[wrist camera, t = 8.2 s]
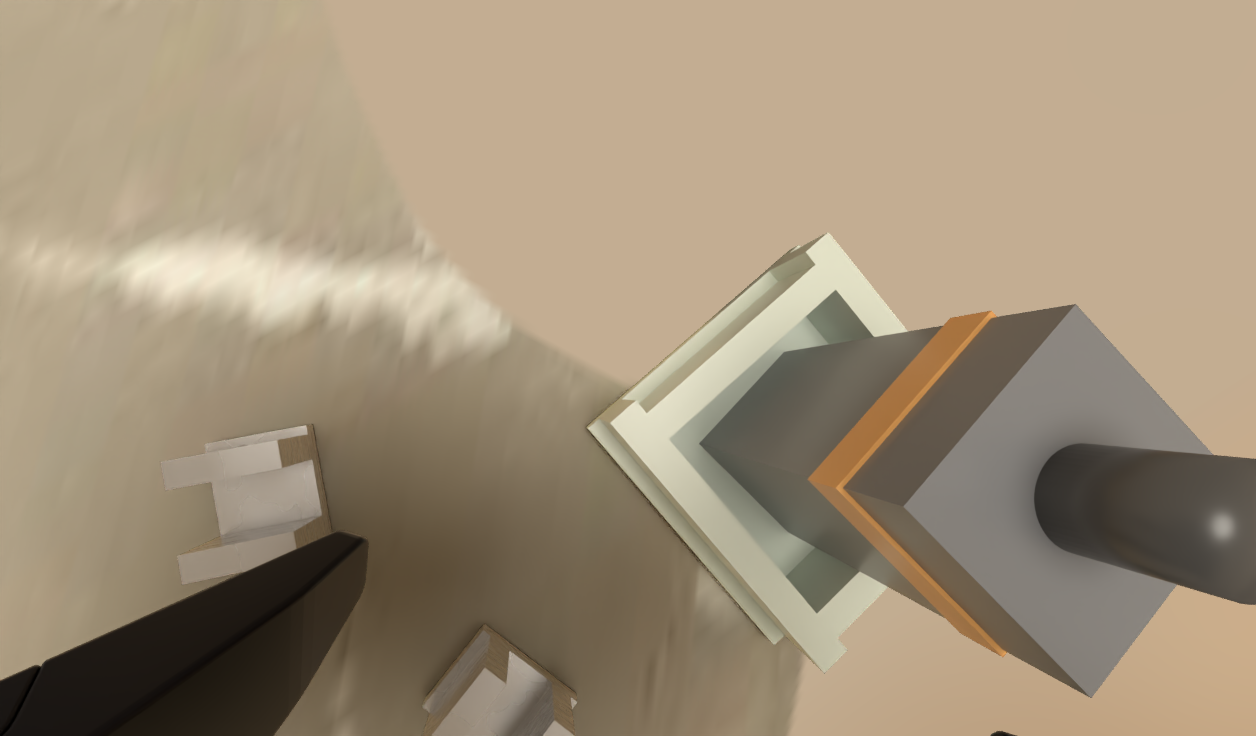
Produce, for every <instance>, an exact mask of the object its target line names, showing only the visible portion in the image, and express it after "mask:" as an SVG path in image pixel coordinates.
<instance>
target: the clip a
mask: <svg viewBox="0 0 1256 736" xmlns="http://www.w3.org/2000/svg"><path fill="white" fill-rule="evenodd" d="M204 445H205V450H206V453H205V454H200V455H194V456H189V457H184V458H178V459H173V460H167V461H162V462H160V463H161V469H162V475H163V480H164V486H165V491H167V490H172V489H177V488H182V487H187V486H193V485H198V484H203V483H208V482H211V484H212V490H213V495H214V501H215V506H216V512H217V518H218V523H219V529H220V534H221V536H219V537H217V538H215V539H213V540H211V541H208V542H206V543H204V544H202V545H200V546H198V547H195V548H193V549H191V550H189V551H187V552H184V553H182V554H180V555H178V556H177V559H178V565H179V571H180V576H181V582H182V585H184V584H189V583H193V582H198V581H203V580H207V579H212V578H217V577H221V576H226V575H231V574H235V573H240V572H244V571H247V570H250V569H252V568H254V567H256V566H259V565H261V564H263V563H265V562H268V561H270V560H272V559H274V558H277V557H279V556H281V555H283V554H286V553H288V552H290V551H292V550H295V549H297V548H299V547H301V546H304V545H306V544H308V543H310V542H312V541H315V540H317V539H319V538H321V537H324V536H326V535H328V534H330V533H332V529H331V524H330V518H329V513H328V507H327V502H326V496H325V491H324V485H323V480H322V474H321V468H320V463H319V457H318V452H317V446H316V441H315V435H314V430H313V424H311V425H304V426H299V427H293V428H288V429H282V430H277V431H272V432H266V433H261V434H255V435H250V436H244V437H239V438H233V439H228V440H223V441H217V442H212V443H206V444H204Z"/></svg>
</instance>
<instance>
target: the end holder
mask: <svg viewBox="0 0 1256 736" xmlns="http://www.w3.org/2000/svg"><path fill="white" fill-rule="evenodd" d="M902 332H908V331H907V330H906V328H905V327H904V326H903V325H902V323H901V322H900V321H899V320H898V318H897V317H896V316H895V315H894V313H893V312H892V311H891V310H890V308H889V307H888V306H887V305H886V303H885V302H884V301H883V300H882V298H881V297H880V296H879V295H878V293H877V292H876V291H875V290H874V288H873V287H872V286H871V285H870V283H869V282H868V281H867V280H866V278H865V277H864V276H863V275H862V273H861V272H860V271H859V270H858V268H857V267H856V266H855V265H854V263H853V262H852V261H851V260H850V258H849V257H848V256H847V255H846V254H845V252H844V251H843V250H842V248H841V247H840V246H839V245H838V243H837V242H836V241H835V240H834V238H833V237H832V236H831V235H830V233H829V232H828V233H826V234H824V235H822V236H820V237H819V238H817V239H815V240H813V241H811V242H809V243H807V244H806V245H804V246H802V247H800V245H798V246H796V247H794V248H792V249H791V250H789V251H788V252H787V253H786V254H785V255H783V256H782V257H781V258H780V259H779V260H778V261H776V262H775V263H774V264H773V265H772V266H771V267H770V268H768V269H767V270H766V271H765V272H764V273H763V274H762V275H760V276H759V277H758V278H757V279H756V280H755V281H753V282H752V283H751V284H750V285H749V286H748V287H747V288H745V289H744V290H743V291H742V292H741V293H740V294H739V295H738V296H736V297H735V298H734V299H733V300H732V301H730V302H729V303H728V304H727V305H726V306H725V307H724V308H722V309H721V310H720V311H719V312H718V313H717V314H716V315H714V316H713V317H712V318H711V319H710V320H709V321H707V322H706V323H705V324H704V325H703V326H702V327H701V328H700V329H698V330H697V331H696V332H695V333H694V334H693V335H691V336H690V337H689V338H688V339H687V340H686V341H684V342H683V343H682V344H681V345H680V346H679V347H678V348H676V349H675V350H674V351H673V352H672V353H671V354H670V355H668V356H667V357H666V358H665V359H664V360H663V361H662V362H660V363H659V364H658V365H657V366H656V367H655V368H653V369H652V370H651V371H650V372H649V373H648V374H647V375H645V376H644V377H643V378H642V379H641V380H640V381H639V382H637V383H636V384H635V385H634V386H633V387H632V388H630V389H629V390H628V391H627V392H626V393H625V394H624V395H622V396H621V397H620V398H619V399H618V400H617V401H615V402H614V403H613V404H612V405H611V406H610V407H609V408H607V409H606V410H605V411H604V412H603V413H602V414H601V415H599V416H598V417H597V418H596V419H595V420H594V421H592V422H591V423H590V424H589V425H588V426H587V427H586V428H587V429H588V430H589V431H590V432H591V434H592V435H593V436H594V437H595V438H596V439H597V440H598V442H599V443H600V444H601V445H602V446H603V447H604V449H605V450H606V451H607V452H608V453H609V454H610V456H611V457H612V458H613V459H614V460H615V461H616V463H617V464H618V465H619V466H620V467H621V468H622V470H623V471H624V472H625V473H626V474H627V475H628V477H629V478H630V479H631V480H632V481H633V482H634V484H635V485H636V486H637V487H638V488H639V489H640V491H641V492H642V493H643V494H644V495H645V496H646V498H647V499H648V500H649V501H650V502H651V503H652V505H653V506H654V507H655V508H656V509H657V510H658V511H659V513H660V514H661V515H662V516H663V517H664V518H665V520H666V521H667V522H668V523H669V524H670V525H671V527H672V528H673V529H674V530H675V531H676V532H677V534H678V535H679V536H680V537H681V538H682V539H683V541H684V542H685V543H686V544H687V545H688V546H689V548H690V549H691V550H692V551H693V552H694V553H695V555H696V556H697V557H698V558H699V559H700V560H701V562H702V563H703V564H704V565H705V566H706V567H707V569H708V570H709V571H710V572H711V573H712V574H713V575H714V577H715V578H716V579H717V580H718V581H719V582H720V584H721V585H722V586H723V587H724V588H725V589H726V591H727V592H728V593H729V594H730V595H731V596H732V598H733V599H734V600H735V601H736V602H737V603H738V605H739V606H740V607H741V608H742V609H743V610H744V612H745V613H746V614H747V615H748V616H749V617H750V619H751V620H752V621H753V622H754V623H755V624H756V626H757V627H758V628H759V629H760V630H761V631H762V633H763V634H764V635H765V636H766V637H767V638H768V639H769V640H770V641H771V642H772V643H773V644H774V645H775V644H776V643H777V642H778V641H779V640H780V639H781V638H782V637H783V636H784V635H785V636H786V637H787V638H788V639H789V640H790V641H791V642H792V643H793V644H794V645H795V646H796V647H797V648H798V649H799V650H801V651H802V652H803V653H804V654H805V655H806V656H807V657H808V658H809V659H810V660H811V661H812V662H813V663H814V664H815V665H816V666H817V667H818V668H819V669H820V670H821V671H822V672H823V673H826V672H827V670H829V669H830V668H831V667H832V666H833V665H834V664H835V662H836V661H838V659H839V658H840V657H841V656H842V655H843V654H844V653H845V652H846V651H847V649H846V647H845V646H844V645H843V644H842V643H841V642H840V640H839V639H838V637H839V636H840V635H841V634H842V633H843V632H844V631H845V630H846V629H847V628H848V627H849V626H850V625H851V624H852V623H853V622H854V621H855V620H856V619H857V618H858V617H859V616H860V615H861V614H862V613H863V612H864V611H865V610H866V609H867V608H868V607H869V606H870V605H871V604H872V603H873V602H874V601H875V600H876V599H877V598H878V597H879V596H880V595H881V593H883V591H885V590H886V588H887V586H885V585H884V584H882V583H880V582H878V581H876V580H874V579H873V578H871V577H869V576H867V575H865V574H863V573H862V572H860V571H858V570H856V569H854V568H852V567H851V566H849V565H847V564H845V563H843V562H842V561H840V560H838V559H836V558H834V557H832V556H831V555H829V554H827V553H825V552H823V551H821V550H820V549H818V548H816V547H814V546H812V545H810V544H809V543H807V542H805V541H803V540H801V539H799V538H798V537H796V536H794V535H792V534H790V533H788V532H787V531H786V530H785V529H784V528H783V527H782V526H781V525H780V524H779V523H778V522H777V521H776V520H775V519H774V518H773V517H772V516H771V515H770V514H769V513H768V512H767V511H766V510H765V509H764V508H763V507H762V506H761V505H760V504H759V503H758V502H757V501H756V500H755V499H754V498H753V497H752V496H751V495H750V494H749V493H748V492H747V491H746V490H745V489H744V488H743V487H742V486H741V485H740V484H739V483H738V482H737V481H736V480H735V479H734V478H733V477H732V476H731V475H730V474H729V473H728V472H727V471H726V470H725V469H724V468H723V467H722V466H721V465H720V464H719V463H718V462H717V461H716V460H715V459H714V458H713V457H712V456H711V455H710V454H709V453H708V452H707V451H706V450H705V449H704V448H703V447H702V446H701V445H700V444H699V443H700V442H701V441H702V440H703V439H704V438H705V436H706V435H707V434H708V433H709V432H710V431H711V430H712V429H713V428H714V427H715V426H716V425H717V424H718V422H719V421H720V420H721V419H722V418H723V417H724V416H725V415H726V414H727V413H728V412H729V411H730V410H731V408H732V407H733V406H734V405H735V404H736V403H737V402H738V401H739V400H740V399H741V398H742V397H743V396H744V394H745V393H746V392H747V391H748V390H749V389H750V388H751V387H752V386H753V385H754V384H755V383H756V382H757V380H758V379H759V378H760V377H761V376H762V375H763V374H764V373H765V372H766V371H767V370H768V369H769V368H770V366H771V365H772V364H773V363H774V362H775V361H776V360H777V359H778V358H779V357H780V356H781V355H782V354H783V352H786V351H792V350H798V349H804V348H810V347H816V346H822V345H829V344H835V343H841V342H847V341H853V340H859V339H865V338H871V337H878V336H884V335H890V334H896V333H902Z"/></svg>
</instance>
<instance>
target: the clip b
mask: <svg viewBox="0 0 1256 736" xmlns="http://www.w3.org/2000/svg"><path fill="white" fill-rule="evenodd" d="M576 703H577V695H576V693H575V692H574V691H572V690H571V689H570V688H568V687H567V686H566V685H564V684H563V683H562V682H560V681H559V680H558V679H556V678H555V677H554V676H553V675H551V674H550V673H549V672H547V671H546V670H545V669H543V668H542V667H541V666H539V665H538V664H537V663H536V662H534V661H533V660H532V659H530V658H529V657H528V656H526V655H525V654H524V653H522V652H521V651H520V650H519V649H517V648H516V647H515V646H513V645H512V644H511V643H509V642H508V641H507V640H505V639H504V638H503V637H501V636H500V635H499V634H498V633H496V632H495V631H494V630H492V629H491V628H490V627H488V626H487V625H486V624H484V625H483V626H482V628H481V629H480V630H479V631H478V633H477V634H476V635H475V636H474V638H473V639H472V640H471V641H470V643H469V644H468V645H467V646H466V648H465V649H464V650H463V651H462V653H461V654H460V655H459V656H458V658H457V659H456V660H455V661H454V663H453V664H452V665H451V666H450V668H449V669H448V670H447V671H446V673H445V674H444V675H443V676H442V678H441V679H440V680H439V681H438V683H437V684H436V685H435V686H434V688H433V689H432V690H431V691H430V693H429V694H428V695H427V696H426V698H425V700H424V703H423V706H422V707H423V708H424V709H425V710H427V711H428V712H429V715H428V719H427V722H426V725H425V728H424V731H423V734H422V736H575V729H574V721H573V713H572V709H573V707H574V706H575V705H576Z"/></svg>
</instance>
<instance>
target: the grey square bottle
mask: <svg viewBox="0 0 1256 736" xmlns="http://www.w3.org/2000/svg"><path fill="white" fill-rule="evenodd" d="M699 444H700V445H701V446H702V447H703V448H704V449H705V450H706V451H707V452H708V453H709V454H710V455H711V456H712V457H713V458H714V459H715V460H716V461H717V462H718V463H719V464H720V465H721V466H722V467H723V468H724V469H725V470H726V471H727V472H728V473H729V474H730V475H731V476H732V477H733V478H734V479H735V480H736V481H737V482H738V483H739V484H740V485H741V486H742V487H743V488H744V489H745V490H746V491H747V492H748V493H749V494H750V495H751V496H752V497H753V498H754V499H755V500H756V501H757V502H758V503H759V504H760V505H761V506H762V507H763V508H764V509H765V510H766V511H767V512H768V513H769V514H770V515H771V516H772V517H773V518H774V519H775V520H776V521H777V522H778V523H779V524H780V525H781V526H782V527H783V528H784V529H785V530H786V531H787V532H788V533H790V534H792V535H794V536H796V537H798V538H799V539H801V540H803V541H805V542H807V543H809V544H810V545H812V546H814V547H816V548H818V549H820V550H821V551H823V552H825V553H827V554H829V555H831V556H832V557H834V558H836V559H838V560H840V561H842V562H843V563H845V564H847V565H849V566H851V567H852V568H854V569H856V570H858V571H860V572H862V573H863V574H865V575H867V576H869V577H871V578H873V579H874V580H876V581H878V582H880V583H882V584H884V585H885V586H887V587H889V588H891V589H893V590H895V591H896V592H898V593H900V594H902V595H904V596H906V597H908V598H909V599H911V600H913V601H915V602H917V603H918V604H920V605H922V606H924V607H926V608H927V609H929V610H931V611H933V612H935V613H937V614H939V615H940V616H942V617H944V618H946V619H947V620H948V621H949V622H950V623H951V624H952V625H953V626H954V627H955V628H956V629H957V630H958V631H959V632H960V633H961V634H963V635H964V636H966V637H968V638H970V639H972V640H973V641H975V642H977V643H979V644H980V645H982V646H984V647H986V648H988V649H989V650H991V651H993V652H995V653H997V654H998V655H1000V656H1002V657H1004V656H1005V654H1006V653H1007V652H1008V653H1010V654H1012V655H1013V656H1015V657H1017V658H1019V659H1021V660H1023V661H1024V662H1026V663H1028V664H1030V665H1032V666H1034V667H1035V668H1037V669H1039V670H1041V671H1043V672H1045V673H1047V674H1048V675H1050V676H1052V677H1054V678H1055V679H1057V680H1059V681H1061V682H1063V683H1065V684H1067V685H1069V686H1070V687H1072V688H1074V689H1076V690H1077V691H1079V692H1081V693H1083V694H1085V695H1087V696H1088V697H1090V698H1092V696H1093V695H1094V694H1095V692H1096V691H1097V690H1098V688H1099V687H1100V686H1101V685H1102V683H1103V682H1104V681H1105V679H1106V678H1107V677H1108V675H1109V674H1110V673H1111V671H1112V670H1113V669H1114V667H1115V666H1116V665H1117V663H1118V662H1119V661H1120V659H1121V658H1122V657H1123V655H1124V654H1125V653H1126V651H1127V650H1128V649H1129V647H1130V646H1131V645H1132V643H1133V642H1134V641H1135V639H1136V638H1137V637H1138V635H1139V634H1140V633H1141V632H1142V630H1143V629H1144V628H1145V626H1146V625H1147V624H1148V622H1149V621H1150V620H1151V618H1152V617H1153V616H1154V614H1155V613H1156V612H1157V610H1158V609H1159V608H1160V606H1161V605H1162V604H1163V602H1164V601H1165V600H1166V598H1167V597H1168V596H1169V594H1170V593H1171V592H1172V590H1173V589H1174V588H1175V587H1176V585H1180V586H1184V587H1187V588H1190V589H1194V590H1197V591H1201V592H1204V593H1207V594H1211V595H1214V596H1217V597H1221V598H1224V599H1227V600H1231V601H1234V602H1237V603H1241V604H1249V605H1255V604H1256V459H1250V458H1240V457H1239V458H1238V457H1228V456H1217V455H1213V454H1212V453H1211V452H1210V451H1209V450H1208V448H1207V447H1206V446H1205V445H1204V444H1203V443H1202V442H1201V441H1200V440H1199V439H1198V438H1197V436H1196V435H1195V434H1194V433H1193V432H1192V431H1191V430H1190V429H1189V428H1188V427H1187V425H1186V424H1185V423H1184V422H1183V421H1182V420H1181V419H1180V418H1179V417H1178V416H1177V415H1176V413H1175V412H1174V411H1173V410H1172V409H1171V408H1170V407H1169V406H1168V405H1167V404H1166V402H1165V401H1164V400H1163V399H1162V398H1161V397H1160V396H1159V395H1158V394H1157V393H1156V391H1155V390H1154V389H1153V388H1152V387H1151V386H1150V385H1149V384H1148V383H1147V382H1146V381H1145V379H1144V378H1143V377H1142V376H1141V375H1140V374H1139V373H1138V372H1137V371H1136V370H1135V369H1134V368H1133V366H1132V365H1131V364H1130V363H1129V362H1128V361H1127V360H1126V359H1125V358H1124V356H1123V355H1122V354H1121V353H1120V352H1119V351H1118V350H1117V349H1116V348H1115V347H1114V346H1113V344H1112V343H1111V342H1110V341H1109V340H1108V339H1107V338H1106V337H1105V336H1104V335H1103V333H1101V331H1100V330H1099V329H1098V328H1097V327H1096V326H1095V325H1094V324H1093V323H1092V322H1091V320H1090V319H1089V318H1088V317H1087V316H1086V315H1085V314H1084V313H1083V312H1082V311H1081V309H1080V308H1079V307H1078V306H1077V305H1076V304H1074V305H1068V306H1062V307H1056V308H1049V309H1043V310H1037V311H1031V312H1025V313H1019V314H1012V315H1006V316H1000V317H997V316H996V315H995V314H994V313H993V312H992V311H987V312H981V313H976V314H970V315H964V316H959V317H953V318H950V319H949V320H948V321H947V322H946V323H945V325H944V326H939V327H933V328H927V329H921V330H914V331H908V332H902V333H896V334H890V335H884V336H878V337H871V338H865V339H859V340H853V341H847V342H841V343H835V344H829V345H822V346H816V347H810V348H804V349H798V350H792V351H786V352H783V354H782V355H781V356H780V357H779V358H778V359H777V360H776V361H775V362H774V363H773V364H772V365H771V366H770V368H769V369H768V370H767V371H766V372H765V373H764V374H763V375H762V376H761V377H760V378H759V379H758V380H757V382H756V383H755V384H754V385H753V386H752V387H751V388H750V389H749V390H748V391H747V392H746V393H745V394H744V396H743V397H742V398H741V399H740V400H739V401H738V402H737V403H736V404H735V405H734V406H733V407H732V408H731V410H730V411H729V412H728V413H727V414H726V415H725V416H724V417H723V418H722V419H721V420H720V421H719V422H718V424H717V425H716V426H715V427H714V428H713V429H712V430H711V431H710V432H709V433H708V434H707V435H706V436H705V438H704V439H703V440H702V441H701V442H700V443H699Z"/></svg>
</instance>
